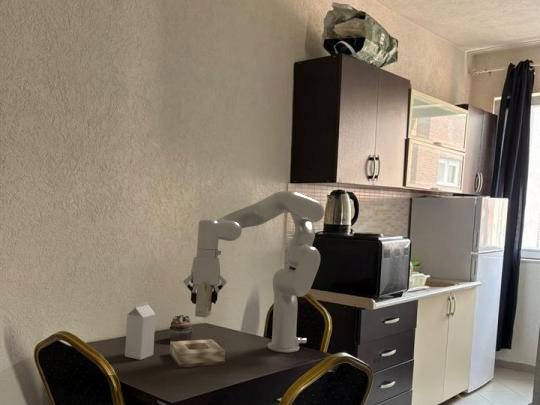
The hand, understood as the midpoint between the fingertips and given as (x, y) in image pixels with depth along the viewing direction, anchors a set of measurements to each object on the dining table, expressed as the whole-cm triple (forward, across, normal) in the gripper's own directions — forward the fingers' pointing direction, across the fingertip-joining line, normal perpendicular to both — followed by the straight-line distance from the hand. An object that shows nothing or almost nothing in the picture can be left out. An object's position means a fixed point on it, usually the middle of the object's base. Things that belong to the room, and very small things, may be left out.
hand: (203, 302), depth 175 cm
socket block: (+20, +1, 0) cm, 20 cm away
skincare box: (+5, 0, 0) cm, 5 cm away
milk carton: (+21, +20, -9) cm, 30 cm away
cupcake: (+20, +1, -26) cm, 33 cm away
